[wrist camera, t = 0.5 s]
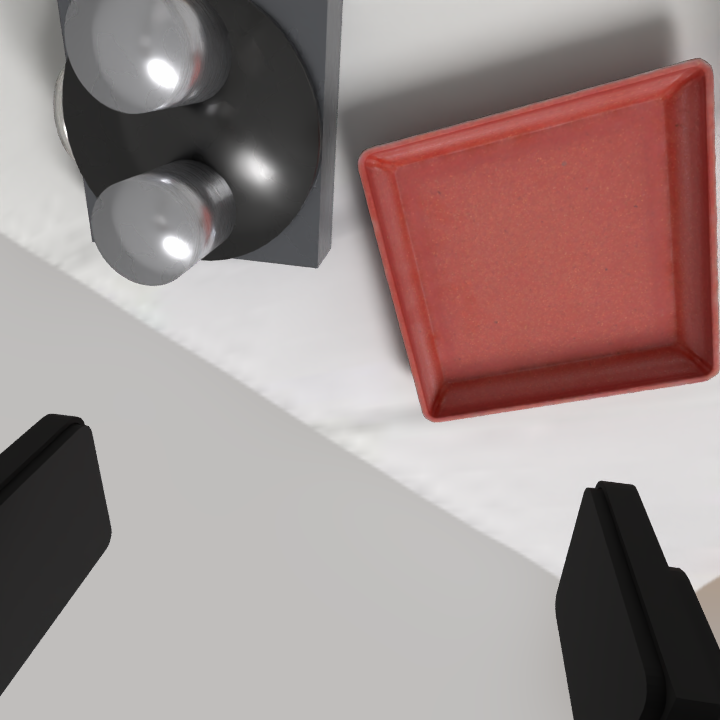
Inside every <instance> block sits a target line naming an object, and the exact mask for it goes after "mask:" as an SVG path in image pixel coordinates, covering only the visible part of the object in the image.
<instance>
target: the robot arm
mask: <svg viewBox="0 0 720 720" xmlns="http://www.w3.org/2000/svg"><path fill="white" fill-rule="evenodd" d="M111 533H112V532H111V525H110V520H109V515H108V510H107V505H106V500H105V495H104V490H103V485H102V480H101V475H100V470H99V465H98V460H97V455H96V450H95V445H94V440H93V436H92V431H91V429H90V427H89V426H86V425H85V424H84V421H83V420H82V419H81V418H79V417H75V416H67V415H58V414H48V415H46V416H45V417H43V418H42V419H41V420H39V421H38V422H37V423H36V424H35V425H34V426H32V427H31V428H30V429H29V430H28V431H27V432H25V433H24V434H23V435H22V436H21V437H20V438H19V439H17V440H16V441H15V442H14V443H13V444H12V445H10V446H9V447H8V448H7V449H6V450H5V451H3V452H2V453H1V454H0V696H1V694H2V693H3V692H4V690H5V689H6V687H7V686H8V685H9V683H10V682H11V680H12V679H13V678H14V676H15V675H16V673H17V672H18V671H19V669H20V668H21V667H22V665H23V664H24V662H25V661H26V660H27V658H28V657H29V656H30V654H31V653H32V651H33V650H34V649H35V647H36V646H37V644H38V643H39V642H40V640H41V639H42V637H43V636H44V635H45V633H46V632H47V630H48V629H49V628H50V626H51V625H52V624H53V622H54V621H55V619H56V618H57V616H58V615H59V614H60V613H61V611H62V610H63V608H64V607H65V606H66V604H67V603H68V601H69V600H70V599H71V597H72V596H73V595H74V593H75V592H76V590H77V589H78V588H79V586H80V585H81V583H82V582H83V581H84V579H85V578H86V577H87V575H88V574H89V572H90V571H91V570H92V568H93V567H94V565H95V564H96V563H97V561H98V560H99V558H100V557H101V556H102V554H103V553H104V551H105V550H106V549H107V547H108V545H109V542H110V539H111ZM555 607H556V608H555V610H556V619H557V625H558V630H559V636H560V642H561V648H562V654H563V659H564V665H565V671H566V677H567V683H568V689H569V694H570V699H571V706H572V712H573V718H574V720H720V649H719V647H718V644H717V642H716V640H715V638H714V635H713V633H712V631H711V628H710V626H709V624H708V621H707V619H706V617H705V615H704V612H703V610H702V608H701V605H700V603H699V601H698V599H697V596H696V594H695V592H694V590H693V587H692V585H691V583H690V580H689V579H688V577H687V575H686V574H685V572H684V571H682V570H681V569H680V568H674V567H668V564H667V562H666V559H665V557H664V554H663V552H662V550H661V547H660V545H659V542H658V540H657V537H656V535H655V532H654V530H653V528H652V525H651V523H650V520H649V518H648V515H647V513H646V510H645V508H644V506H643V503H642V501H641V498H640V496H639V493H638V491H637V489H636V487H635V486H634V485H631V484H623V483H615V482H607V481H599V482H598V483H597V485H596V487H595V488H586V489H585V491H584V494H583V498H582V502H581V505H580V509H579V513H578V516H577V520H576V524H575V527H574V531H573V535H572V539H571V542H570V546H569V550H568V553H567V557H566V561H565V564H564V568H563V572H562V576H561V579H560V583H559V587H558V591H557V595H556V603H555Z"/></svg>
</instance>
